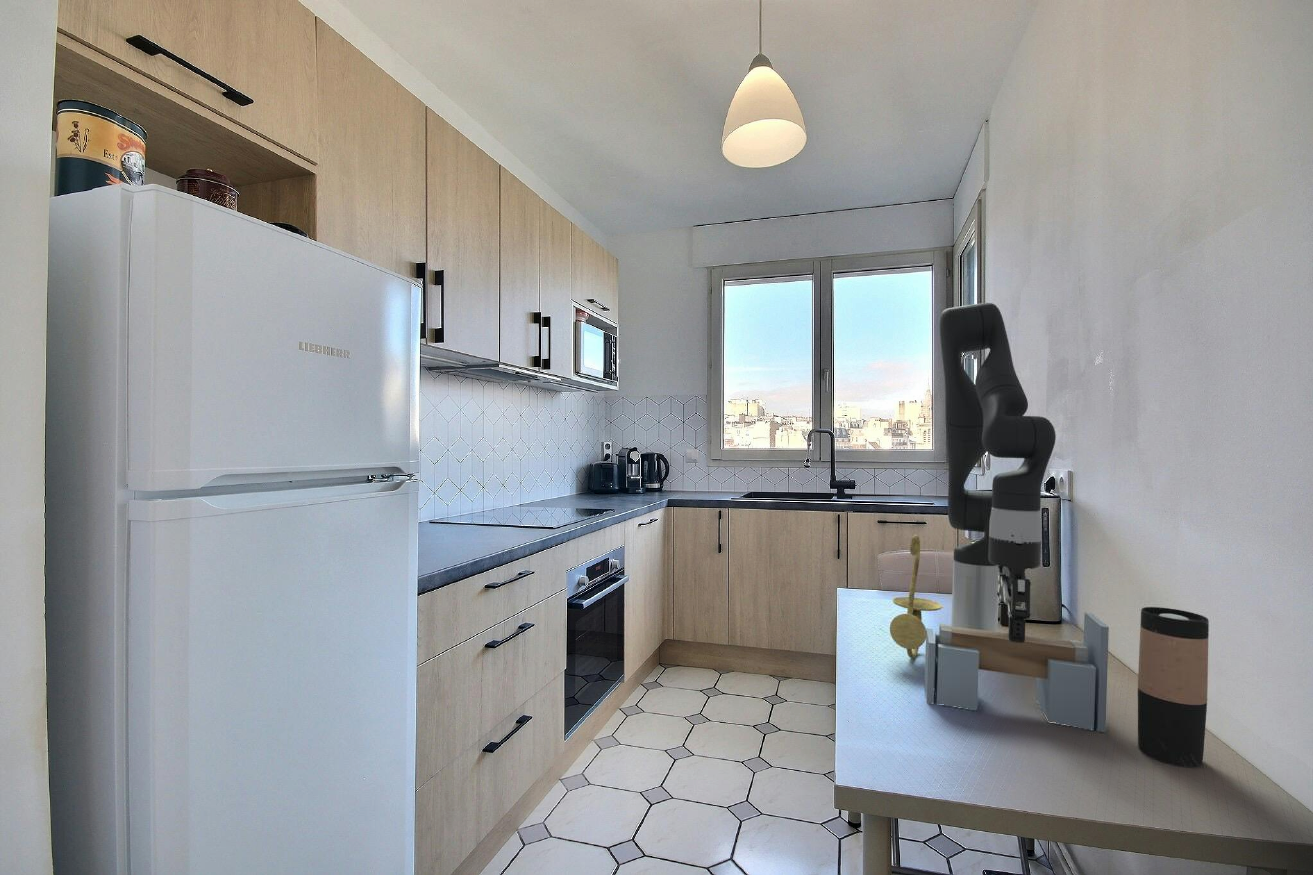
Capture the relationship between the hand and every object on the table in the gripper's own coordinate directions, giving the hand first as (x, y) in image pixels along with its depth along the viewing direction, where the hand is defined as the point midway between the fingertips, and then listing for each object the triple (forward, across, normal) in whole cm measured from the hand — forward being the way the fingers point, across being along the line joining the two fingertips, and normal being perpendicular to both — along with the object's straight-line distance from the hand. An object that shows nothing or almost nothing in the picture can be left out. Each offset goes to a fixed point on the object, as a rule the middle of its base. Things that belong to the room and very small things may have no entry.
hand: (1011, 633), depth 105 cm
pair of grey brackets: (+12, 0, 0) cm, 12 cm away
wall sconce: (+12, -19, -14) cm, 27 cm away
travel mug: (+12, +9, +19) cm, 24 cm away
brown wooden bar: (+6, 0, 0) cm, 6 cm away
